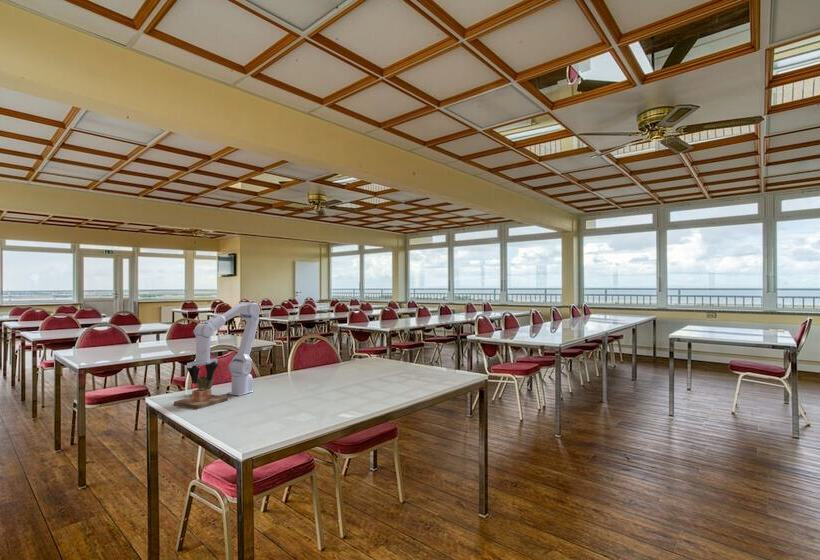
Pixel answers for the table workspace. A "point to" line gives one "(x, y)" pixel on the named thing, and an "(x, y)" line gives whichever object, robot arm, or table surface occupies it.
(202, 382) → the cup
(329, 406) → the table surface
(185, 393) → the table surface
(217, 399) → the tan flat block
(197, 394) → the hollow wooden block
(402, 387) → the table surface
